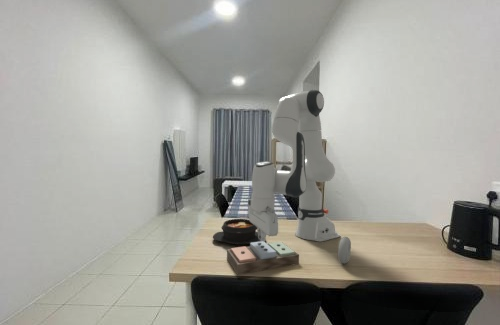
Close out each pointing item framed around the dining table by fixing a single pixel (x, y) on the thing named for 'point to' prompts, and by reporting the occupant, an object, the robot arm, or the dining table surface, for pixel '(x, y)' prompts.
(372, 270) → the dining table surface
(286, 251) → the counting block
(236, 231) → the casserole
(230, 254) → the wooden counting block tray
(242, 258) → the counting block
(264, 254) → the counting block
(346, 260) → the donut
